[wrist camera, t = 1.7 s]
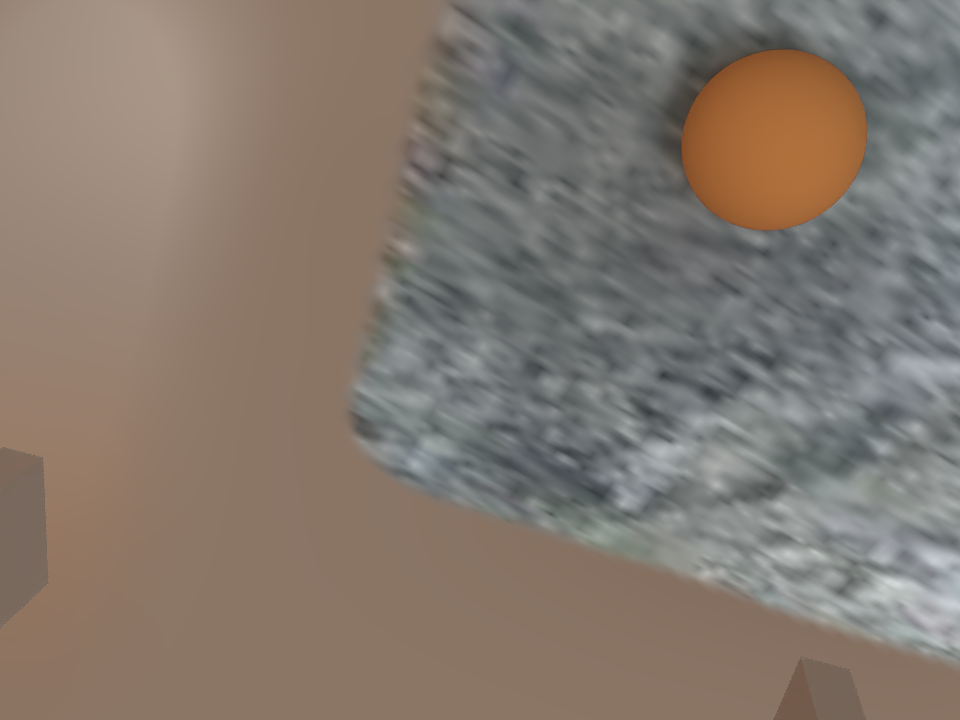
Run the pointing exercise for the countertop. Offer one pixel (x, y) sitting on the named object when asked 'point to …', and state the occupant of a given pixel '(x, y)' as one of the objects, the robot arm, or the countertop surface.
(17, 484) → the robot arm
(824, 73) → the ball
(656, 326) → the countertop surface
